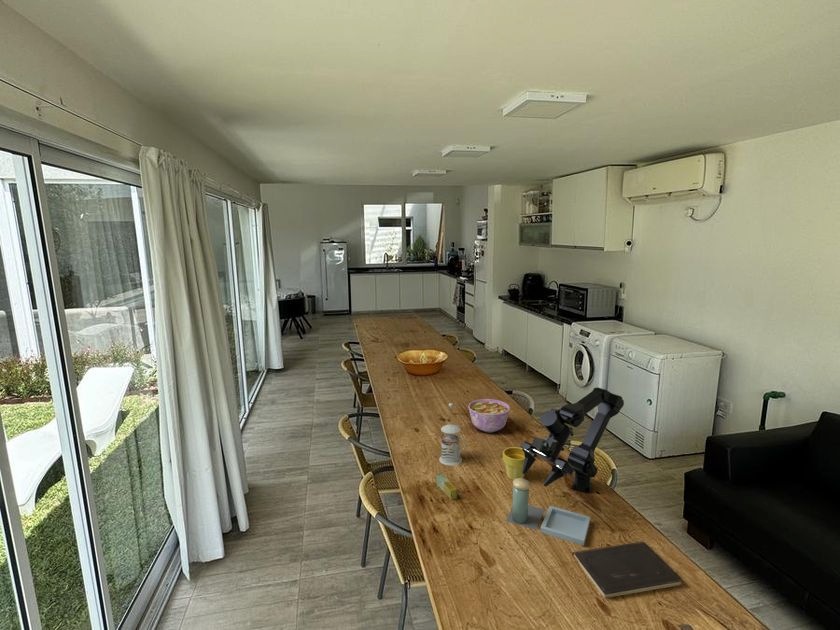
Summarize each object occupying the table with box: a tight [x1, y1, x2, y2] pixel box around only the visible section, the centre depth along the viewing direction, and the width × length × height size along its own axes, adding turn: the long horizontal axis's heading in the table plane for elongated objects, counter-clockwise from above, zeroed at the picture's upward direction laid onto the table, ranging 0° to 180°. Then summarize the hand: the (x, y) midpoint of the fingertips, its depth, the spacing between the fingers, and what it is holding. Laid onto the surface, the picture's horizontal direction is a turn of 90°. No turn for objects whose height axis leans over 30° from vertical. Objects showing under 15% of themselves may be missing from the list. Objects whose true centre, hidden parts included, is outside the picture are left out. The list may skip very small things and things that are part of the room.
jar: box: [511, 478, 530, 524], centre depth 144 cm, size 5×5×13 cm
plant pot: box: [502, 446, 526, 481], centre depth 171 cm, size 10×10×10 cm
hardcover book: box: [572, 541, 684, 599], centre depth 123 cm, size 16×23×2 cm
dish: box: [539, 505, 591, 548], centre depth 141 cm, size 13×13×2 cm
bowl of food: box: [468, 398, 511, 433], centre depth 213 cm, size 20×20×12 cm
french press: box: [438, 402, 467, 467], centre depth 182 cm, size 10×12×25 cm
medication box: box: [435, 472, 458, 501], centre depth 162 cm, size 12×3×4 cm, turn 25°
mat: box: [505, 504, 545, 531], centre depth 147 cm, size 12×10×1 cm
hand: (533, 479), depth 146 cm, fingers open, 9 cm apart
